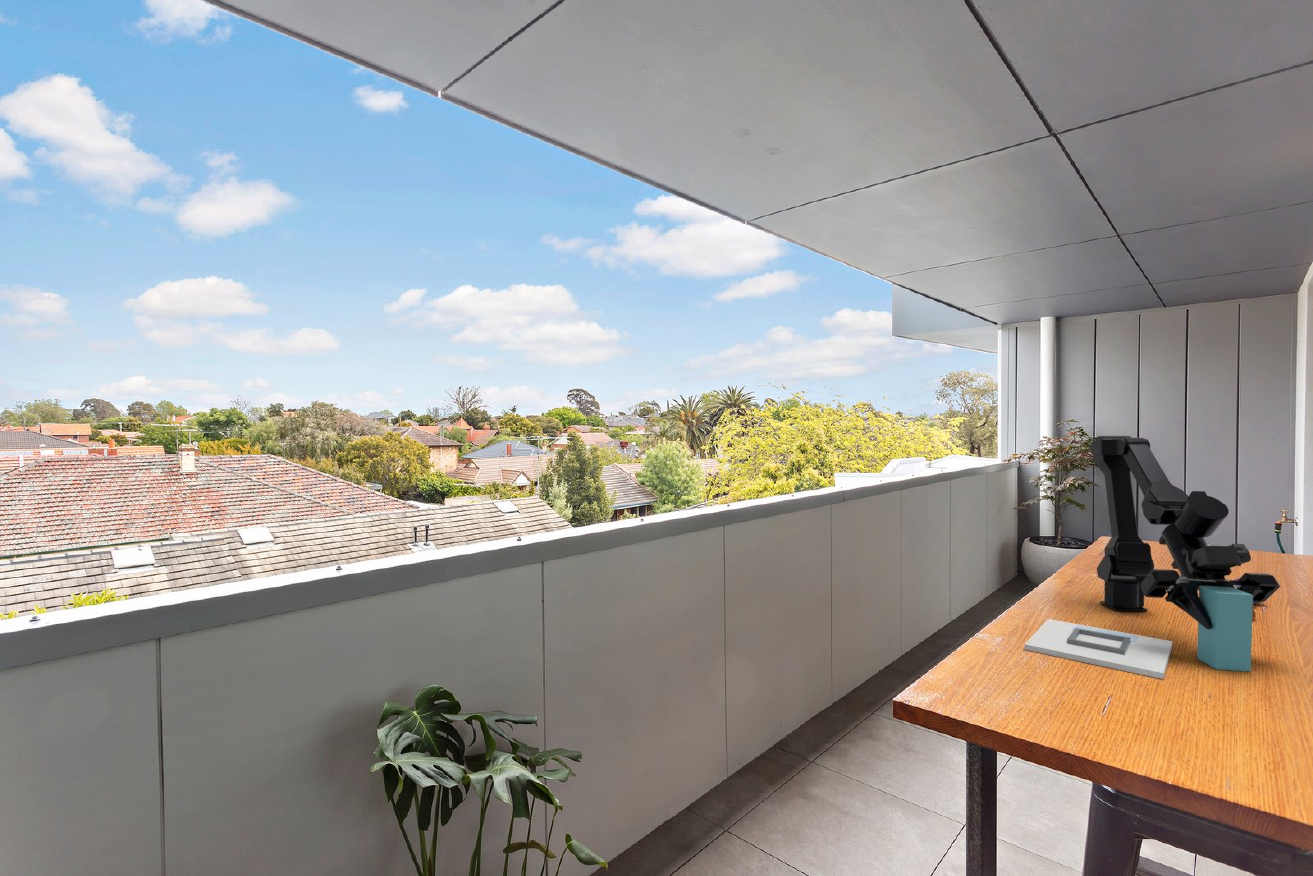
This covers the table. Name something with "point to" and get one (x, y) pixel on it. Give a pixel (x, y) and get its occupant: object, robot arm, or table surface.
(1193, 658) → the table surface
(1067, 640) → the board
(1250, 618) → the column
